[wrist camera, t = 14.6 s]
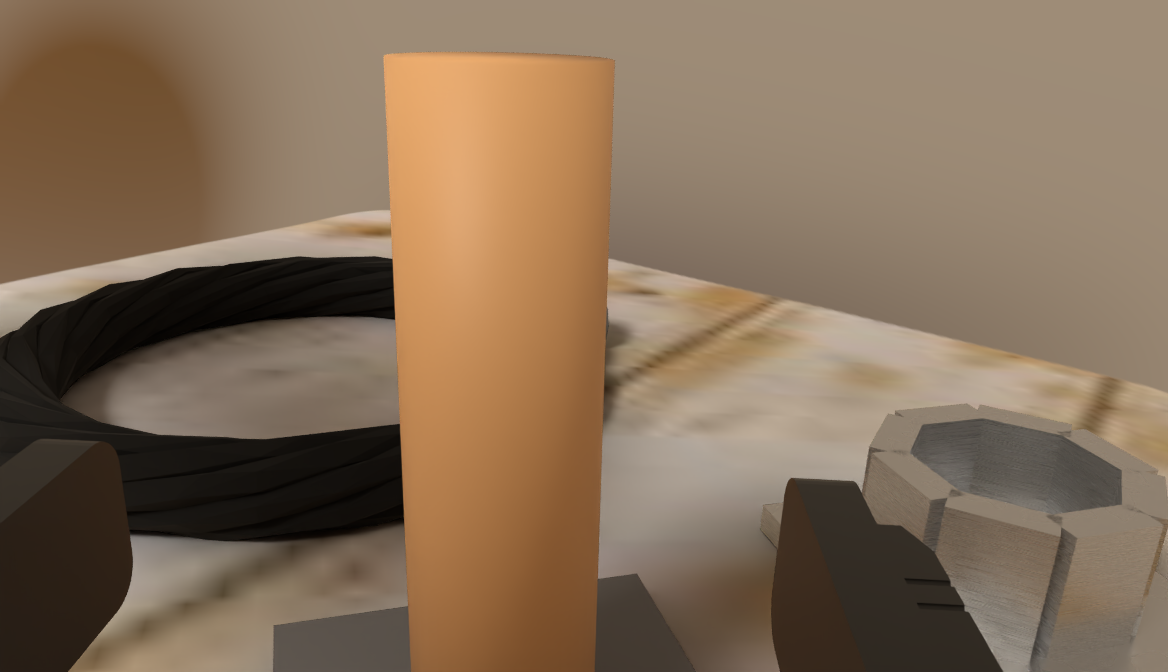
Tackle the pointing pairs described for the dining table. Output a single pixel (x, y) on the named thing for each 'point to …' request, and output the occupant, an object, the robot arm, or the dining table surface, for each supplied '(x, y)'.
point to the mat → (382, 644)
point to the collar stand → (1029, 533)
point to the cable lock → (195, 463)
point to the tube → (500, 350)
